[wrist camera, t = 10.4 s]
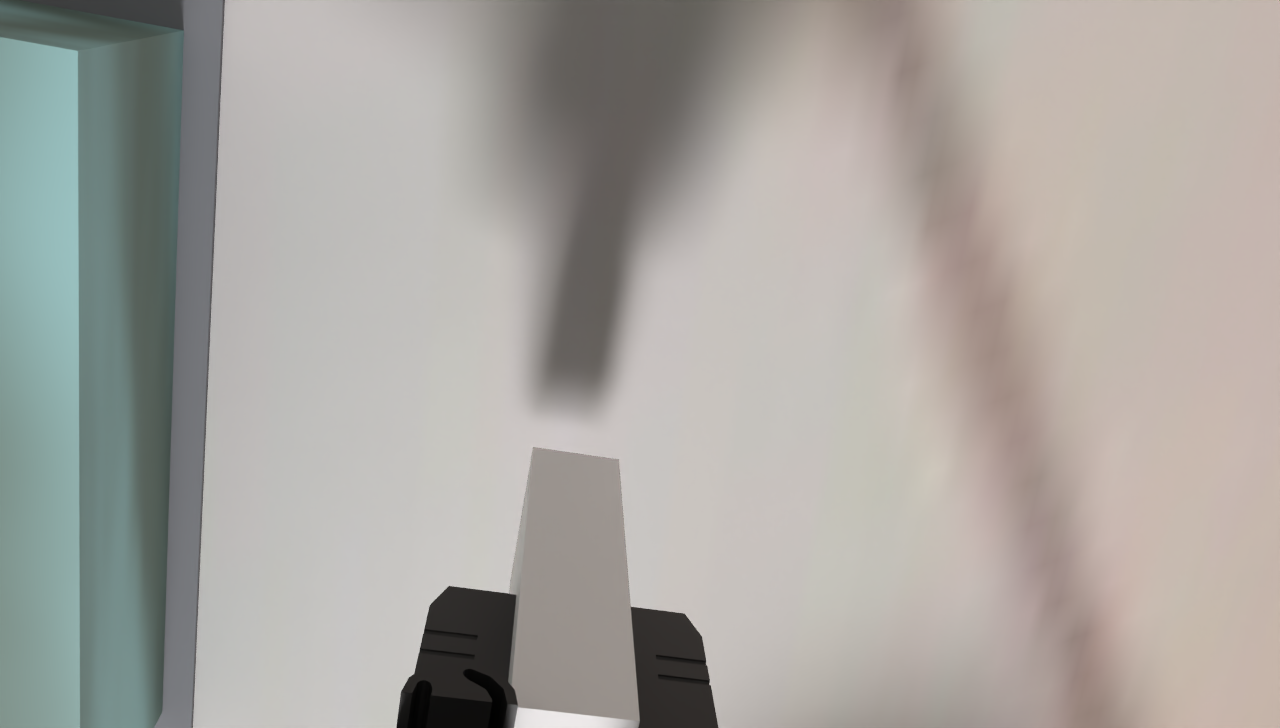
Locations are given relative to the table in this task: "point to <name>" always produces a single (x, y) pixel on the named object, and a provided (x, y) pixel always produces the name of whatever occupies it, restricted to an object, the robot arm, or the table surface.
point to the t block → (85, 362)
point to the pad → (185, 319)
